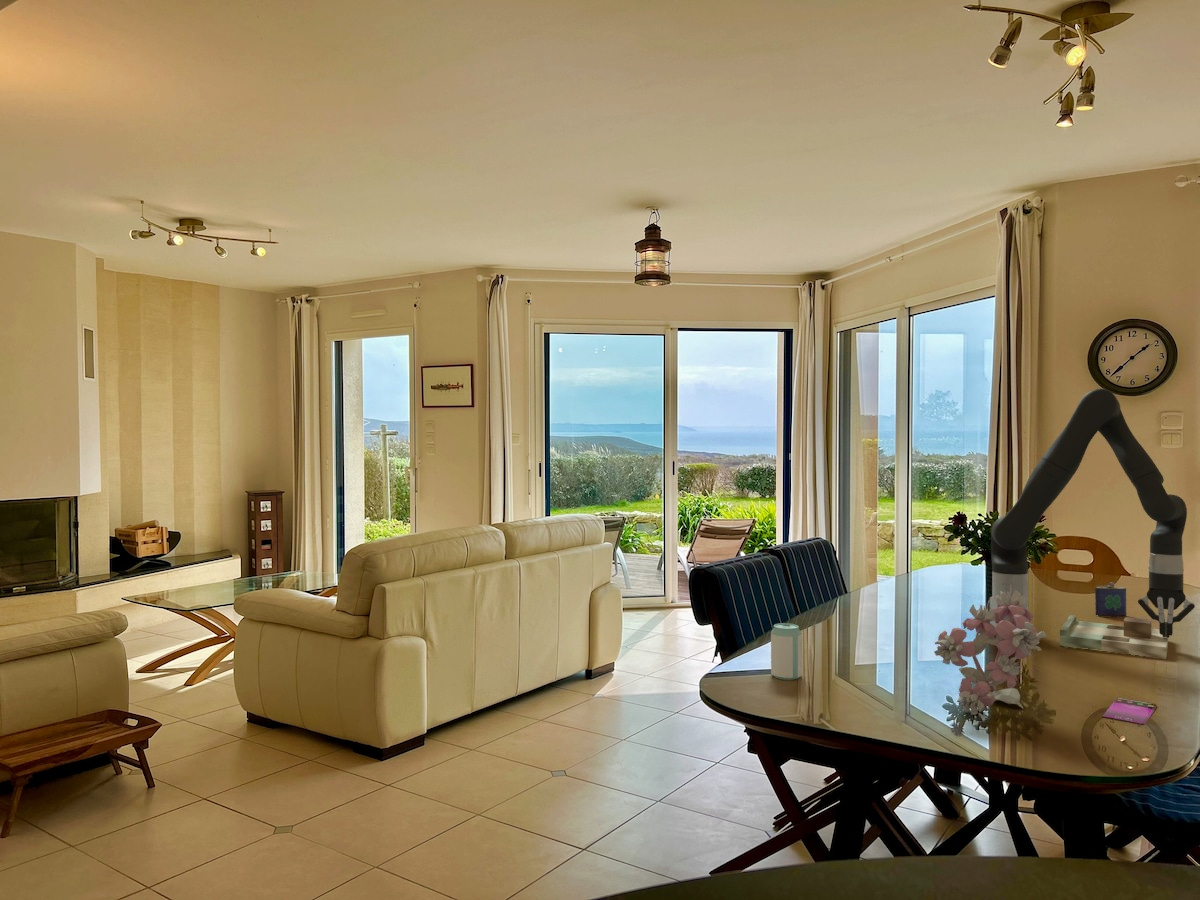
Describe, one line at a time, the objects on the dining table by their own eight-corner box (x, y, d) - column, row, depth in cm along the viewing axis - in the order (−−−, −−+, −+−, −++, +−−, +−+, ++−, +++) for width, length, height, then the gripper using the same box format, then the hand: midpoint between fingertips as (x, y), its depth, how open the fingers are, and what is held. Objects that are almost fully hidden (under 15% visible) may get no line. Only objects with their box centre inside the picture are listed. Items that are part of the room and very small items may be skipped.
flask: (1123, 615, 263) (1123, 581, 263) (1129, 617, 260) (1129, 582, 260) (1093, 615, 264) (1093, 581, 264) (1098, 617, 261) (1098, 582, 261)
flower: (906, 679, 188) (917, 589, 176) (1002, 667, 189) (1019, 576, 178) (949, 747, 170) (965, 651, 158) (1055, 733, 171) (1078, 636, 160)
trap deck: (1168, 641, 229) (1168, 624, 228) (1166, 659, 210) (1166, 641, 210) (1070, 630, 242) (1070, 615, 242) (1060, 646, 223) (1060, 629, 223)
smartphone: (1157, 708, 173) (1157, 704, 173) (1144, 727, 161) (1144, 722, 161) (1116, 701, 178) (1116, 697, 177) (1101, 718, 166) (1101, 714, 166)
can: (765, 674, 198) (765, 623, 198) (790, 671, 201) (790, 621, 201) (781, 682, 192) (781, 630, 192) (807, 678, 194) (807, 627, 194)
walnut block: (1151, 634, 224) (1151, 619, 224) (1150, 638, 219) (1150, 623, 219) (1125, 631, 227) (1125, 617, 227) (1123, 635, 222) (1123, 620, 222)
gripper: (1196, 571, 218) (1196, 637, 219) (1136, 567, 226) (1136, 630, 226) (1197, 574, 212) (1196, 643, 212) (1135, 570, 220) (1135, 636, 220)
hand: (1165, 636), depth 219 cm, fingers closed
